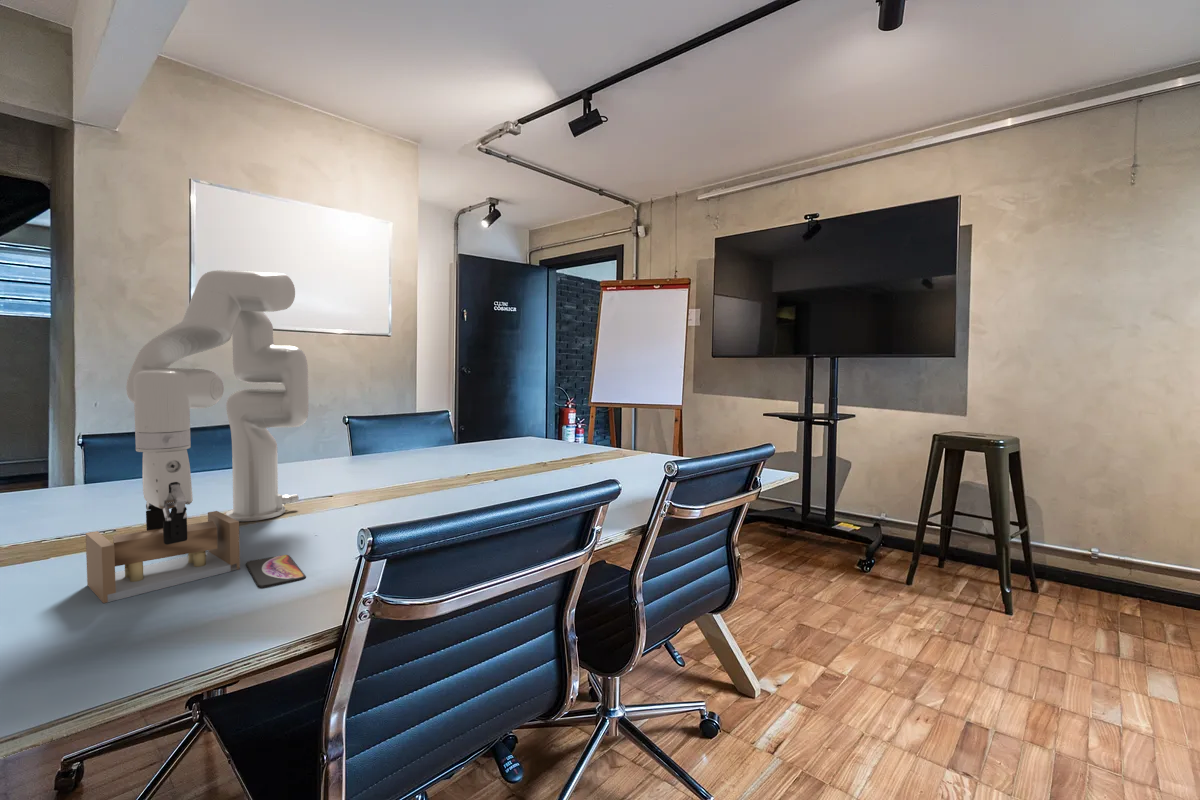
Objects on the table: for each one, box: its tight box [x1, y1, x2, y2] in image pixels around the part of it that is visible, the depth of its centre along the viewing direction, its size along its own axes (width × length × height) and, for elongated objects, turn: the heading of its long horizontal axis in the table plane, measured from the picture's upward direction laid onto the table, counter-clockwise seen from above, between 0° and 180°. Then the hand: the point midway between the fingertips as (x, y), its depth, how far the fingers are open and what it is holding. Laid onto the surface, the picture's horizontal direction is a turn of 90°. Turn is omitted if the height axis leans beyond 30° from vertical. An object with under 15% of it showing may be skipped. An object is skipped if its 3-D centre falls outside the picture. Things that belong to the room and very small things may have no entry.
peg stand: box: [85, 510, 241, 604], centre depth 96 cm, size 19×11×9 cm, turn 143°
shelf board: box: [112, 521, 217, 567], centre depth 96 cm, size 14×5×4 cm, turn 133°
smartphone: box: [245, 554, 307, 589], centre depth 100 cm, size 8×1×15 cm
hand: (166, 536), depth 96 cm, fingers open, 9 cm apart
